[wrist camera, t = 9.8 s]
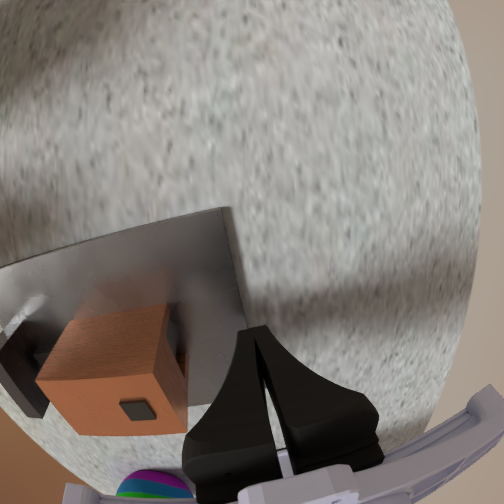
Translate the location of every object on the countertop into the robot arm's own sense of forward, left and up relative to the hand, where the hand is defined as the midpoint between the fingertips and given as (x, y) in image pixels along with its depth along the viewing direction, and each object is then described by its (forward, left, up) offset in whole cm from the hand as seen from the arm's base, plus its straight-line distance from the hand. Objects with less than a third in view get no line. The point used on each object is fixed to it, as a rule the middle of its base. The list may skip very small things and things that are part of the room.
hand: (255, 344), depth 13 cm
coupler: (0, +8, -2) cm, 9 cm away
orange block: (0, +7, -2) cm, 7 cm away
